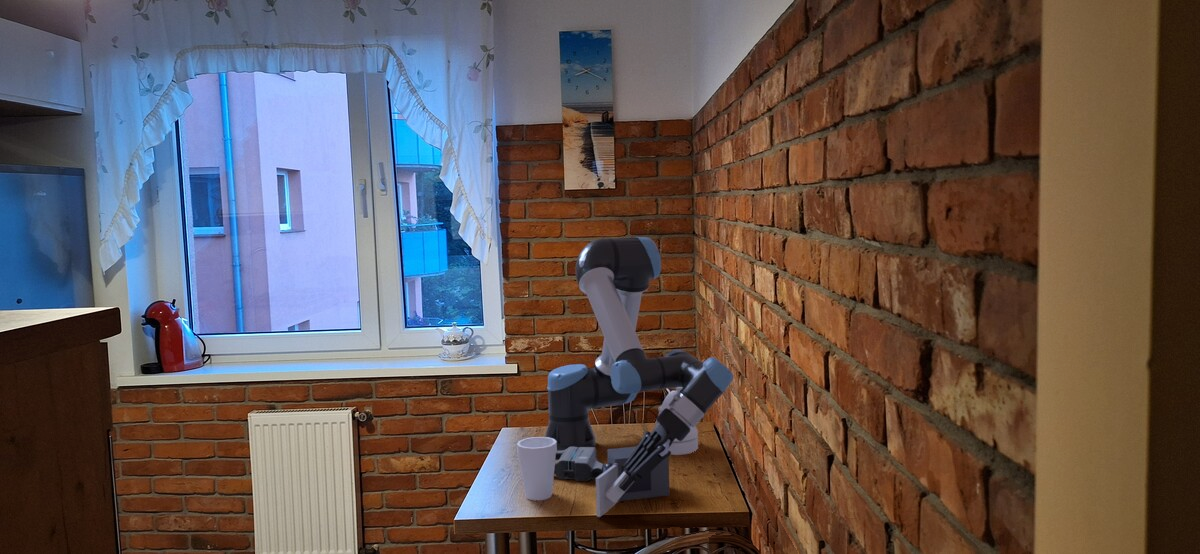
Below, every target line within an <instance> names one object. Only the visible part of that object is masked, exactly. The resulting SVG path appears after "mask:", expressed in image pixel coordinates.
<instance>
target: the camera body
mask: <svg viewBox="0 0 1200 554" xmlns="http://www.w3.org/2000/svg"><path fill="white" fill-rule="evenodd" d="M637 446H638V445H637ZM637 446H629V447H618V448H616V447H615V448H607V450H606V451H607V463H603V464H604V465H603V472H605V471H606V470H607V469H609V468H610V467H612V466H613V465H614V463H618V477H620V475H621V474H622V473H623V472H625V471H624V469H625V466H624V464H625V462H626V461H627V460H628V458H629V457H630V455H631V454H632V453H633V451H634V450H635V448H636V447H637ZM669 457H670V455H669V456H668V457H667V458H665V459H664V460H662V461H661V462H660V463H659V464H658V465H657V466H656V467H655V468H654V469H653V470H652V471H651V472H650V473H649V474H648V475H647V476H646V477H645V478H644V479H643V480H642V481H640V482H639V481H638V480H637V481H634V482H633V483H632V484H631V486H630V487H629V488H628V489H627V490H626V492H625V493H624V494H623V495H622V496H621V497H620V499H619V502H623V501H630V500H640V499H649V498H657V497H658V498H659V497H665V496H666V497H667V496H670V460H669V459H670V458H669Z"/></svg>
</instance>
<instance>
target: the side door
mask: <svg viewBox="0 0 1200 554" xmlns="http://www.w3.org/2000/svg"><path fill="white" fill-rule="evenodd" d="M618 478H619V477H618V463H614V465H613V466H612V467H610V468H609V469H607V470H606V471H605V472H603V473H602V474H601V475H599V476H598V477H597V478H596V481H595V496H596V497H595V498H596V499H595V504H596V505H595V506H596V517H598V518H601V517H602V516H603V515H604V514H606V513H607V512H608V511H609V510H610V509H612V507H614V506H615V505H616V504H617V503H620V501H619V500H618V501H617V502H616V503H614V502H613V501H611V500H610V499H609V498H608V497H607V496H606V495H605V493H606V492H607V491H608V489H609V488H610V487H611V486H612V485H613V484H614V482H615V481H616V480H617V479H618Z"/></svg>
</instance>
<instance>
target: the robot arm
mask: <svg viewBox="0 0 1200 554" xmlns="http://www.w3.org/2000/svg"><path fill="white" fill-rule="evenodd" d="M660 254H661V253H660V252H659V248H658V246H657V244H656V243H655V241H654V240H653V239H651V238H650V237H646V236H644V237H642V236H633V237H632V236H631V237H609V238H607V237H601V238H597V239H594V240H592V241H591V242H589V243H587V244H586V245H585V246H584V248H583V249H581V251H580V253H579V255H578V257H577V259H576V263H575V271H574V273H575V279H576V282H577V285H578V288H579V290H580V291H581V292H582V293H584V294H585V295H586V297H587V299H588V300H589V303H590V306H591V309H592V312H593V313H594V315H595V318H596V320H597V323H598V325H599V327H600V330H601V333H602V335H603V343H602V350H601V355H599V356H598V357H597V358H596V359H595V361H594V367H593V368H591V367H590V368H588V366H587V365H585V364H583V363H582V364H581V363H576V364H567V365H564V366H559V367H557V368H554V369H552V370H551V371H550V372H549V374H547V387H546V388H547V399H548V403H547V404H548V425H547V427H546V430H545V434H544V437H549V438H553V439H555V440H556V441H557V451H562V450H566V449H567V448H569V447H595V448H596V436H595V433H594V430H593V428H592V425H591V422H590V419H589V417H590V416H589V409H595V408H596V409H597V408H605V407H613V406H622V405H624V404H625V405H626V404H629V403H632V401H634V400H635V399H636V397H637V395H638V394H639V393H641V392H651V391H656V390H667V389H668V390H669V389H676V388H677V387H682V389H681V390H680V391H679V393H678V394H677V395H674V396H673V398H674V399H673V400H672V401H671V402H670V403H669V407H670V408H669V409H667V408H666V409H664V410H663V411H662V412H661V413H660V415H659V416H658V415H657V417H656V418H655V420H657V422H658V423H660V425H659V426H658V427H657V428H656V429H655V430H654V431H653V430H652V431H651V432H650V431H649V430H647V431H645V433H644V434H643V437H642V438H641V440H640V441H639V443H638V444H637V447H636V446H635V447H636V448H635V450H634V451H633V453H632V454H631V455H630V457H629V458H628V460H627V461H626V462H625V464H624V466H625V469H624V471H625V472H623V473H622V474H621V475H620V477H619V478H618V479H617V480H616V481H615V482H614V484H613V485H612V486H611V487H610V488H609V489H608V491H607V492H606V493H605V495H606V496H607V497H608V498H609V499H610V500H611V501H613V502H614V503H616V502H617V501H618V500H619V499H620V497H621V496H622V495H623V494H624V493H625V492H626V490H627V489H628V488H629V487H630V486H631V484H632V483H633V482H634V481H637V480H638V481H639V482H640V481H642V480H643V479H644V478H645V477H646V476H647V475H648V474H649V473H650V472H651V471H652V470H653V469H654V468H655V467H656V466H657V465H658V464H659V463H660V462H661V461H662V460H664V459H665V458H667V457H668V456H669V457H670V456H671V455H670V454H671V452H670V451H669V450H668V449H669V447H670V446H671V445H672V443H673V441H674V439H675V438H676V439H678V440H679V441H682V440H683V439H684V438H685V437H686V436H687V434H688V433H689V432H690V427H691V426H692V427H695V426H697V424H698V423H699V422H700V421H701V419H702V418H703V417H704V416H705V414H706V413H707V412H708V411H709V410H710V409H711V407H713V405H714V404H715V403H716V402H717V401H718V400H719V398H720V397H721V396H722V395H723V394H724V393H725V392H726V390H727V388H728V387H729V386H730V384H732V382H733V380H734V374H733V373H732V371H730V369H729V368H728V367H727V366H726V365H724V364H723V363H722V362H721V361H720V360H718V359H717V358H715V357H714V356H712V357H708V358H707V359H705V361H703V362H702V361H701V360H700V359H698V358H696V357H695V356H694V355H693V354H691V353H689V352H688V351H684V350H682V349H673V350H671V351H670V352H668V353H667V354H665V356H659V357H648V356H647V354H646V352H645V351H644V348H643V346H642V343H641V341H640V339H639V336H638V335H637V332H636V329H637V324H638V318H639V314H640V307H641V302H642V296H643V293H644V292H647V290H649V287H650V283H651V282H650V281H651V280H655V279H657V278H658V277H659V276H660V275H661V271H662V259H661V255H660ZM617 503H618V502H617ZM617 503H616V504H617Z"/></svg>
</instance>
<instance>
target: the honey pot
mask: <svg viewBox="0 0 1200 554" xmlns="http://www.w3.org/2000/svg"><path fill="white" fill-rule="evenodd" d="M681 389H682V387H677V388H675V390H671V391H669V392H668V393H667V394H666V396H665V398H664V400H663V401H662V404H661V405H660V406H658V408H657V410H658V415H657V417H658V416H659V415H660V413H661V412H662V411H663V410H664V409H666V408H667V409H669V408H670V407H669V403H670V402H671V401H672V400H673V399H674V398H673V396H674V395H677V394H678V393H679V391H680V390H681ZM655 420H656V419H655ZM659 425H660V423H658V422H657V420H656V421H655V424H654V427H653V430H652V431H654V430H655V429H656V428H657V427H658V426H659ZM696 426H697V425H695V427H692V426H691V427H690V432H689V433H688V434H687V436H686V437H685V438H684V439H683V440H682V441H679V440H678V439H676V438H675V439H674V441H673V443H672V445H671V446H670V447H669V449H668V450H669V451H670V452H671V454H670V455H669V456H672V455H673V456H679V455H680V456H681V455H688V454H692V452H693V453H695V452H696V450H697V449H698V450H699V437H698V436H699V430H698V428H697V427H696ZM698 450H697V451H698ZM694 451H695V452H694Z"/></svg>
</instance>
